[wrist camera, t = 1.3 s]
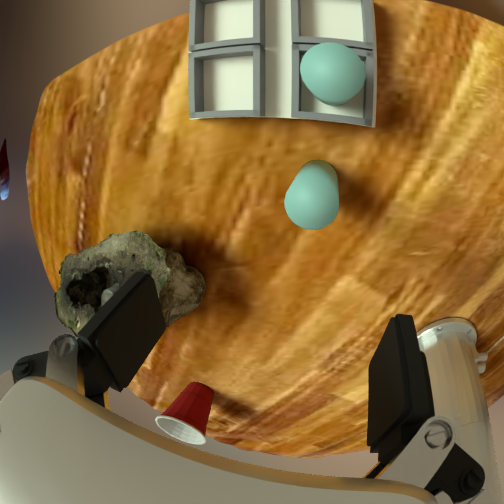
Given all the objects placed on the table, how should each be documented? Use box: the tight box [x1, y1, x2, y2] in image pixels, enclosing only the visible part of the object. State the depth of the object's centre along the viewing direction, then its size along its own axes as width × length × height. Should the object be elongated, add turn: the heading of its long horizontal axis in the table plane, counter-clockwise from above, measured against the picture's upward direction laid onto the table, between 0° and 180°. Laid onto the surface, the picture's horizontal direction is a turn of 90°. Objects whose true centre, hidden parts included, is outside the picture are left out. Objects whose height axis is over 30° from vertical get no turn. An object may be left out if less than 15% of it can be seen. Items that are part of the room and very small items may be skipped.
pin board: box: [188, 0, 377, 128], centre depth 16 cm, size 18×14×10 cm
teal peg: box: [285, 160, 339, 230], centre depth 22 cm, size 4×4×8 cm
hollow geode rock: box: [55, 231, 206, 337], centre depth 36 cm, size 28×13×15 cm
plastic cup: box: [155, 382, 213, 444], centre depth 47 cm, size 11×11×12 cm
